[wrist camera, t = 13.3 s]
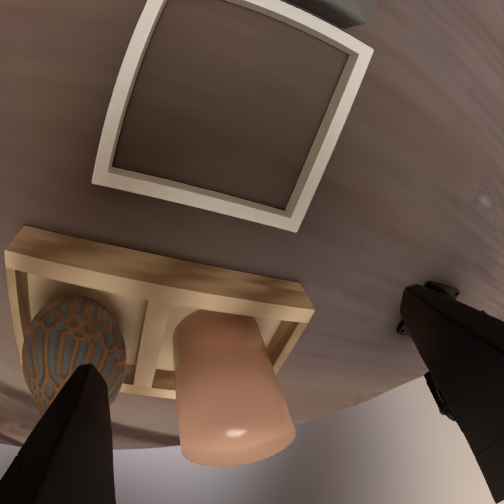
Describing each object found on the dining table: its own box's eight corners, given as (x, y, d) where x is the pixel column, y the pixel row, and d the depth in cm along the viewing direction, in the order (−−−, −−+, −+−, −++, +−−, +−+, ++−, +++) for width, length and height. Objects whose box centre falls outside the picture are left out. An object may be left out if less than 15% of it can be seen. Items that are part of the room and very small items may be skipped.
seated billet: (272, 312, 23) (315, 416, 15) (242, 370, 25) (269, 463, 18) (183, 299, 20) (195, 418, 13) (165, 362, 23) (172, 466, 15)
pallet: (299, 282, 23) (315, 310, 21) (249, 376, 28) (257, 403, 25) (24, 225, 16) (4, 249, 14) (32, 341, 21) (23, 369, 18)
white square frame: (363, 50, 15) (373, 50, 14) (290, 224, 21) (296, 232, 20) (165, -28, 11) (164, -35, 10) (96, 177, 16) (91, 183, 15)
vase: (115, 362, 22) (108, 461, 15) (35, 332, 19) (6, 428, 12) (143, 301, 20) (138, 417, 12) (49, 262, 17) (-1, 368, 9)
